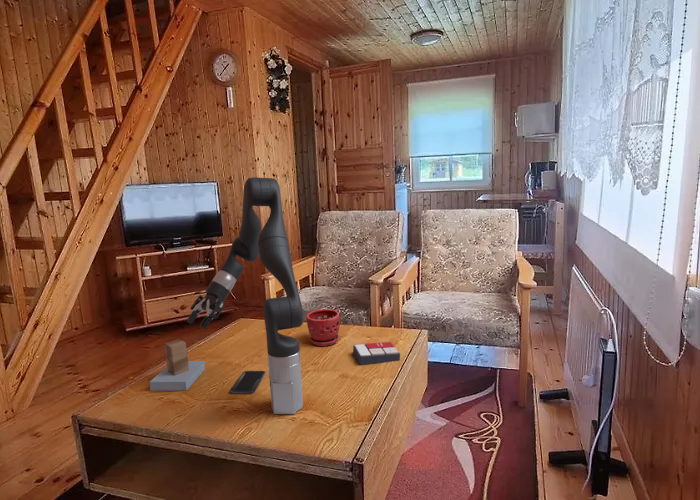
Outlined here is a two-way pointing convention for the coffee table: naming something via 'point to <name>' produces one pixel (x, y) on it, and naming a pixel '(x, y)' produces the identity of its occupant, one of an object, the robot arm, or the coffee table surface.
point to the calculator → (375, 353)
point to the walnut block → (176, 357)
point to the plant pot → (323, 327)
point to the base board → (177, 378)
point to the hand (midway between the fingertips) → (195, 325)
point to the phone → (248, 382)
